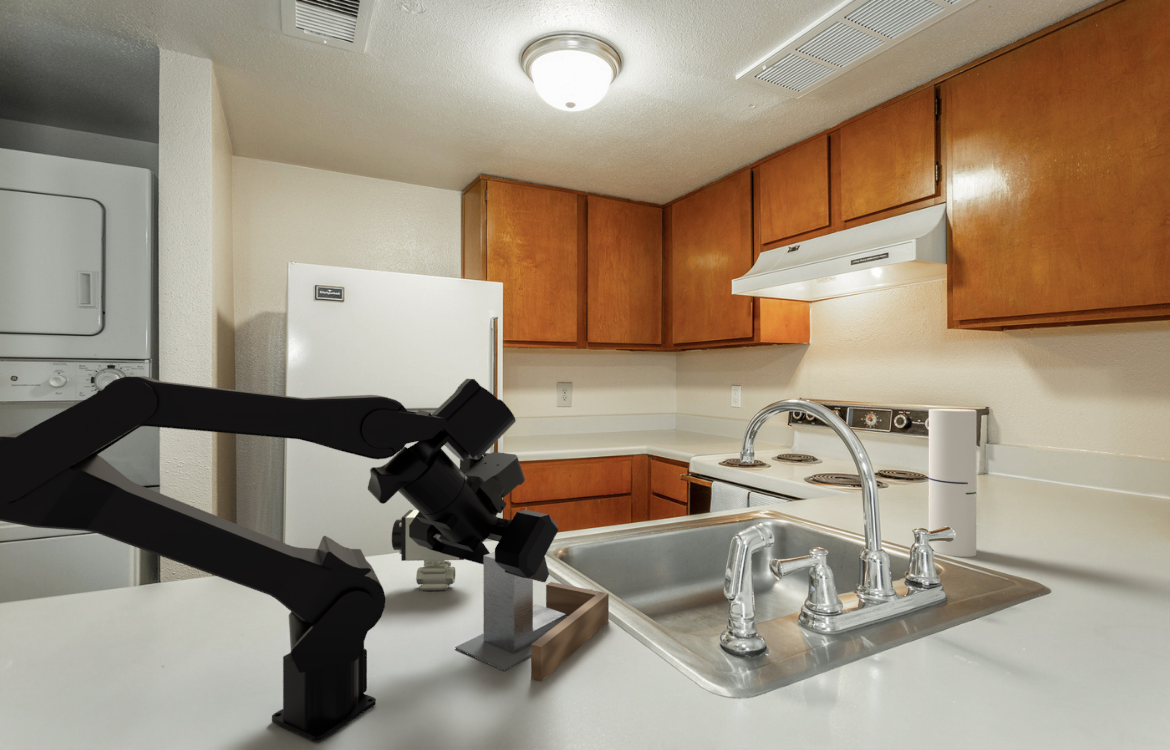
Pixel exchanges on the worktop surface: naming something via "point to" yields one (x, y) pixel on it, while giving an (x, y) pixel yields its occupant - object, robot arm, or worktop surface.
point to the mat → (493, 653)
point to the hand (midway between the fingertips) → (516, 569)
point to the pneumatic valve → (423, 557)
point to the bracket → (513, 610)
